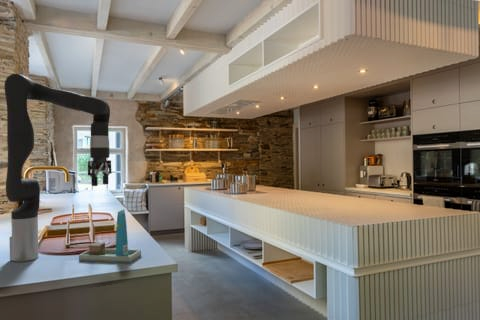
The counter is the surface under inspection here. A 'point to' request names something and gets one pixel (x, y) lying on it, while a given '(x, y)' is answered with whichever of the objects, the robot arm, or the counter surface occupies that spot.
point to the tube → (121, 235)
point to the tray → (111, 256)
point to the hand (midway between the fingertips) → (100, 185)
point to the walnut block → (97, 249)
